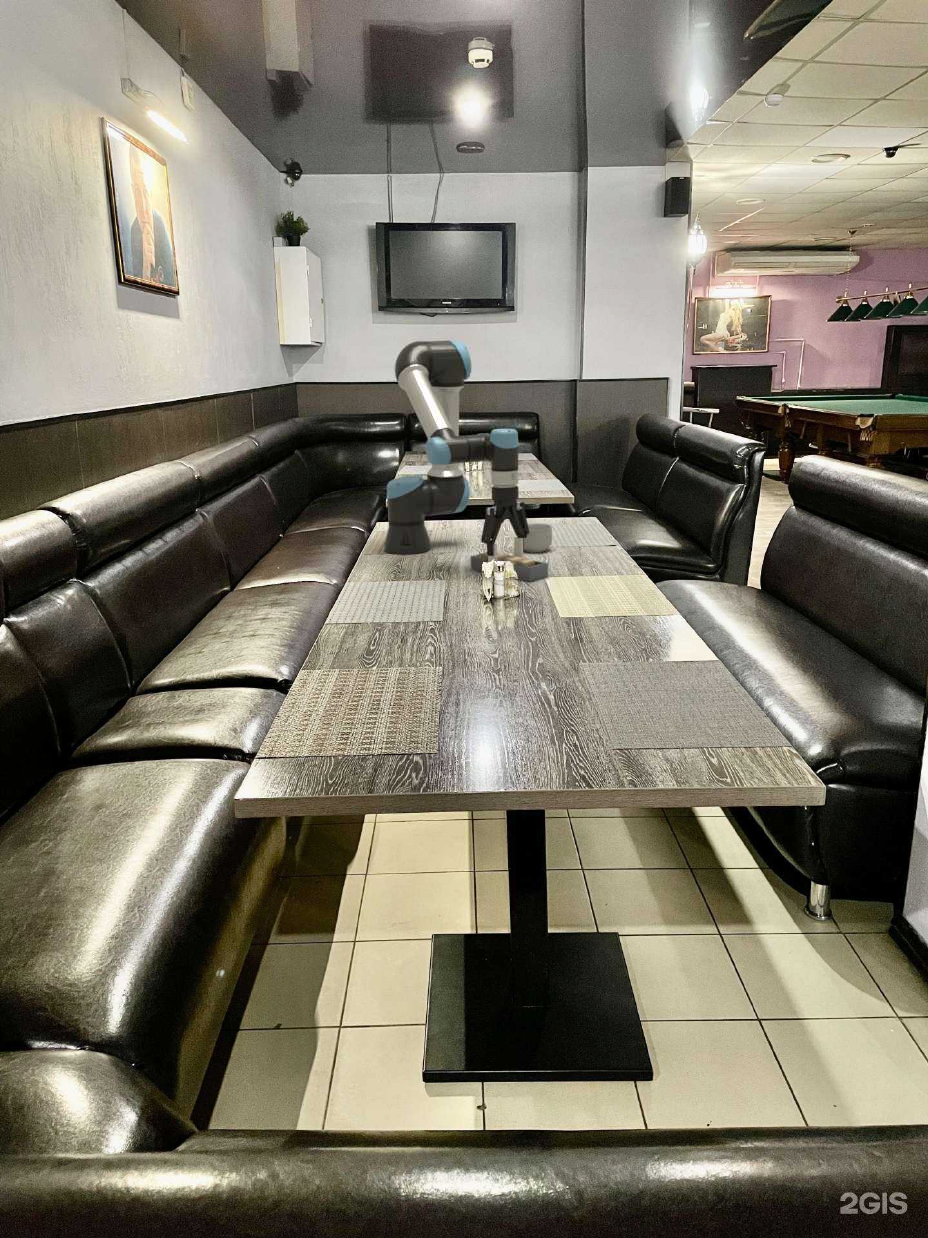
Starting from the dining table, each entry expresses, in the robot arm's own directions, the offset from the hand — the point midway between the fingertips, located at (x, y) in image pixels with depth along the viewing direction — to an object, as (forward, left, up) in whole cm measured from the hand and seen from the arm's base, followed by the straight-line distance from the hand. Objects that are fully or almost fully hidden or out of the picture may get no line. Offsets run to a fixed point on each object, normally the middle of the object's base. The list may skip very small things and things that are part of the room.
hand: (505, 563), depth 250 cm
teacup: (-14, +29, -3) cm, 33 cm away
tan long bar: (0, 0, -3) cm, 3 cm away
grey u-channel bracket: (-7, 0, -3) cm, 8 cm away
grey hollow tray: (+10, 0, -3) cm, 10 cm away
